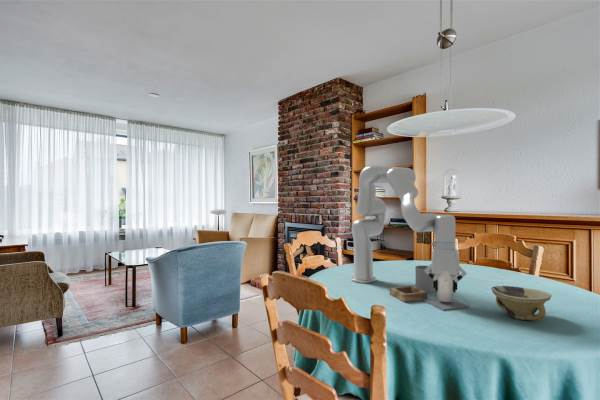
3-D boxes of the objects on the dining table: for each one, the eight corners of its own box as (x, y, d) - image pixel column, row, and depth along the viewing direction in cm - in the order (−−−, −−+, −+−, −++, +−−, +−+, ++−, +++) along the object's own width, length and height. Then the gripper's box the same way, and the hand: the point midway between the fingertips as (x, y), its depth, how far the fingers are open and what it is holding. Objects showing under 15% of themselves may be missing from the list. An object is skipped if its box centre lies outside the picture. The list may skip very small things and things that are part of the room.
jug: (436, 296, 131) (436, 267, 131) (452, 297, 129) (452, 268, 129) (437, 302, 124) (437, 271, 124) (454, 304, 122) (454, 273, 121)
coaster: (423, 300, 132) (423, 299, 132) (447, 297, 135) (447, 296, 135) (443, 310, 120) (443, 309, 120) (469, 307, 123) (469, 305, 123)
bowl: (565, 323, 107) (565, 294, 107) (524, 330, 102) (524, 300, 102) (516, 306, 124) (516, 281, 124) (479, 311, 119) (479, 285, 119)
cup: (436, 292, 143) (436, 269, 143) (417, 291, 145) (417, 269, 145) (432, 286, 151) (432, 265, 151) (414, 286, 153) (414, 265, 153)
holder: (389, 294, 140) (389, 287, 140) (411, 292, 143) (411, 285, 143) (404, 302, 130) (404, 295, 130) (427, 299, 133) (427, 292, 133)
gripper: (422, 246, 127) (422, 291, 127) (470, 248, 121) (470, 295, 121) (421, 243, 134) (421, 286, 134) (467, 245, 128) (467, 290, 128)
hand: (445, 290), depth 127 cm, fingers closed on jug, 5 cm apart
